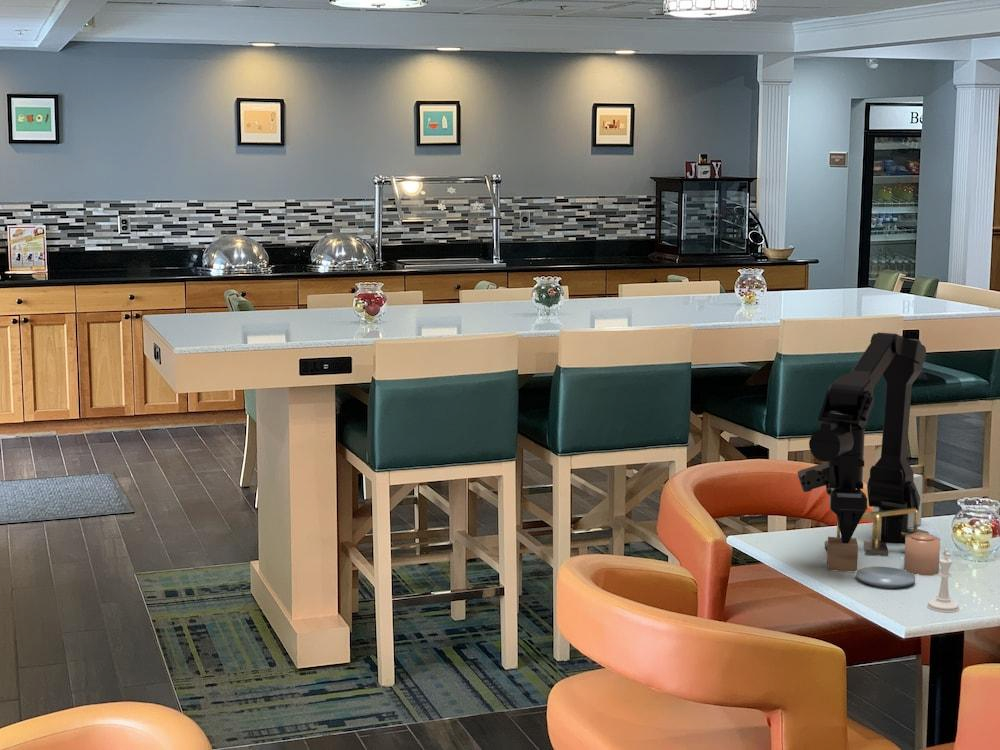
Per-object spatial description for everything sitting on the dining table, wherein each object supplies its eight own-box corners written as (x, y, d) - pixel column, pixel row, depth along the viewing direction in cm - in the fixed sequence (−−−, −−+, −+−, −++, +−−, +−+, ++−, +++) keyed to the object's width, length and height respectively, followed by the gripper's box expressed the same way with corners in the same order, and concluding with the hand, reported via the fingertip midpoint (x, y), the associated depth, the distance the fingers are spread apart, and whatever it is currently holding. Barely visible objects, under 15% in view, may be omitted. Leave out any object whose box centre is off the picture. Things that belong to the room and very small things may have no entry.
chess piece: (938, 613, 211) (942, 554, 210) (921, 604, 216) (924, 546, 214) (965, 611, 212) (968, 552, 211) (947, 601, 217) (950, 543, 216)
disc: (853, 570, 234) (854, 565, 234) (911, 574, 232) (911, 568, 232) (858, 587, 224) (858, 581, 224) (918, 591, 222) (918, 585, 222)
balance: (823, 544, 251) (825, 499, 250) (925, 549, 248) (928, 504, 246) (825, 552, 246) (827, 507, 244) (929, 558, 242) (932, 512, 241)
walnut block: (826, 562, 239) (828, 536, 239) (854, 564, 238) (856, 538, 238) (828, 570, 234) (829, 544, 234) (856, 572, 233) (858, 545, 233)
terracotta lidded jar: (902, 564, 238) (903, 530, 237) (936, 566, 237) (938, 532, 236) (905, 574, 232) (907, 539, 231) (940, 576, 231) (942, 541, 230)
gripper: (799, 440, 244) (796, 520, 246) (803, 461, 226) (799, 547, 228) (860, 442, 242) (857, 523, 244) (869, 463, 224) (865, 551, 226)
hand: (843, 536), depth 236 cm, fingers open, 9 cm apart
